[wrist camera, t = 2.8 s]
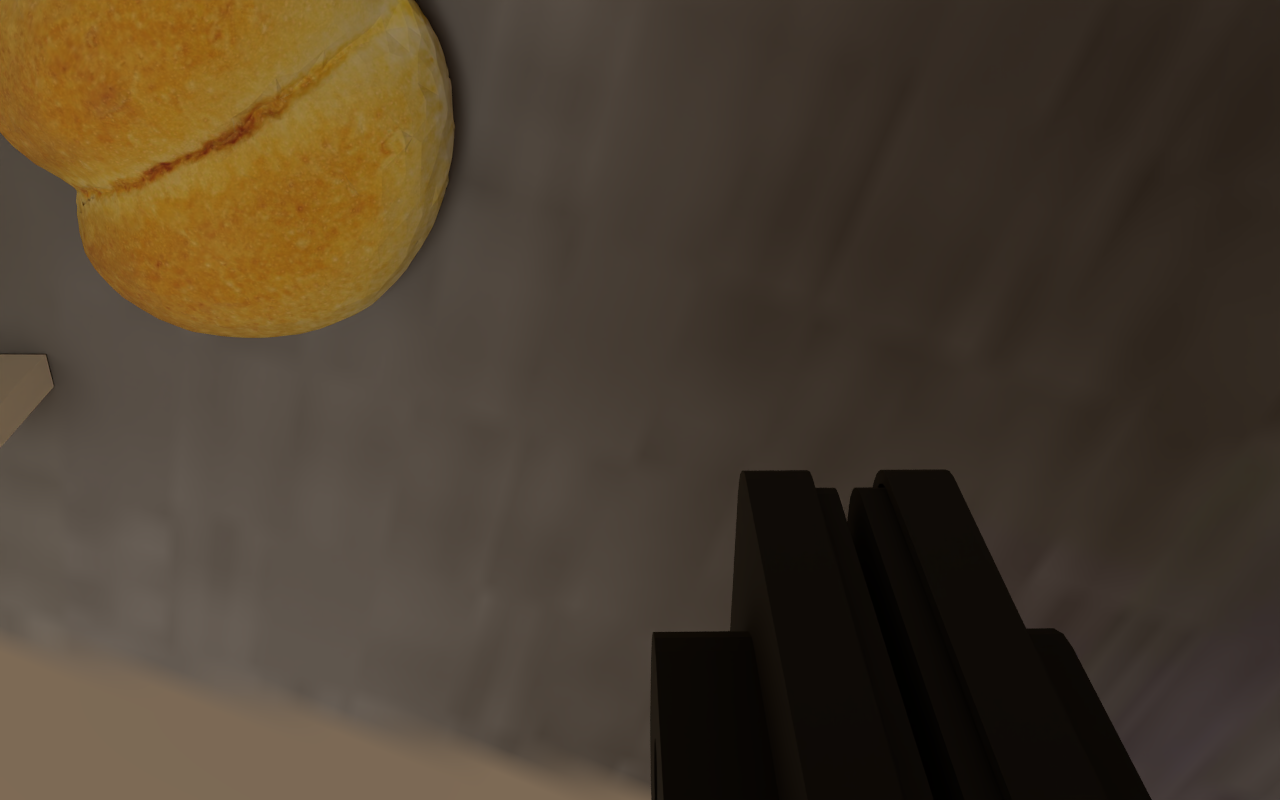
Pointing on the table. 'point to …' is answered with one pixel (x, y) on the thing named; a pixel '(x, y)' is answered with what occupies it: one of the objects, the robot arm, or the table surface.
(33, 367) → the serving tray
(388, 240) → the bread roll
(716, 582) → the table surface
